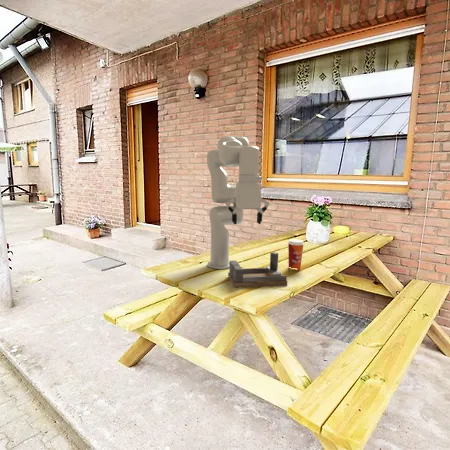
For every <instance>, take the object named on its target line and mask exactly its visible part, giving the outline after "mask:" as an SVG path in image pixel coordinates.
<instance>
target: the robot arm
mask: <svg viewBox="0 0 450 450" xmlns="http://www.w3.org/2000/svg"><path fill="white" fill-rule="evenodd" d="M217 148H218V149H211V150H209V151H208V152H207V154H206V164H207V168H208V170H209V174H210V180H211V181H210V183H211V187H210V188H211V189H210V190H211V199H212V202H213V203H215V204H225V205H220V206H218V205H217V206H213V207H211V208H210V209H209V212H208V213H209V223H210V261H209V262H207V267H209V268H210V269H215V270H226V269H230V259H229V257H230V256H229V255H230V233H229V230H228V229H227V228H226V225H227V226H228V225H240V224H242V223H243V221H244V210H256V211H257V214H256V223H257V224H258V225H261V223H262V222H263V215H264V213H265V212H266V211H267V210H268V207H269V206H270V202H269V201H267V200H265V199H264V198H262V192H261V190H262V189H261V183H259V181H263V176H261V175H259V173H260V172H259V169H260V167H259V166H260V148H259V147H258V146H254V145H250V142H249V140H248V138H247V137H245V136H239V135H224V136H222V137H220V138H219V139H218V141H217ZM224 167H227V168H237V167H238V182H236V183H235V184H229V181H228V180H229V178H228V177H229V176H228V174H227V172H226V170H224ZM262 203H263V204H264V205H263V206H262Z"/></svg>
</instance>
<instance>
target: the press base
mask: <svg viewBox="0 0 450 450" xmlns="http://www.w3.org/2000/svg"><path fill="white" fill-rule="evenodd" d="M229 262H230V268H229V271H228V272H227V277H228V276H229V277H228V278H230V279H229V280H230V282H231V284H232V286H233V288H234V289H240V288H239V287H244V288H257V287H258V288H259V287H261V288H262V287H280V286H288V280H287V279H288V277H287V275H285V274H284V275H282V274H281V275H280V276H269V275H268V274H267V273H266V267H254V268H253V267H251V268H242V266H241V265H240V264H239V262H238V261H237V260H229Z"/></svg>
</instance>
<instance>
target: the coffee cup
mask: <svg viewBox="0 0 450 450" xmlns="http://www.w3.org/2000/svg"><path fill="white" fill-rule="evenodd" d="M287 245H288V268H289V267H291V268H297V269H298V270H297V271H300V270H301V268H302V267H301V265H302V258H303V251H304V245H305V243H304V240H302V239H297V238H296V239H294V238H293V239H292V238H291V239H289V240H288V242H287Z"/></svg>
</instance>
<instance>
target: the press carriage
mask: <svg viewBox="0 0 450 450" xmlns="http://www.w3.org/2000/svg"><path fill="white" fill-rule="evenodd" d="M269 257H270V258H269V259H270V260H269V265H266V266H265V268H266V273H267V274H268V275H269V276H280V275H282V271H281V270H280V269H278V267H279V266H278V265H279V253H278V252H270V254H269Z"/></svg>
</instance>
